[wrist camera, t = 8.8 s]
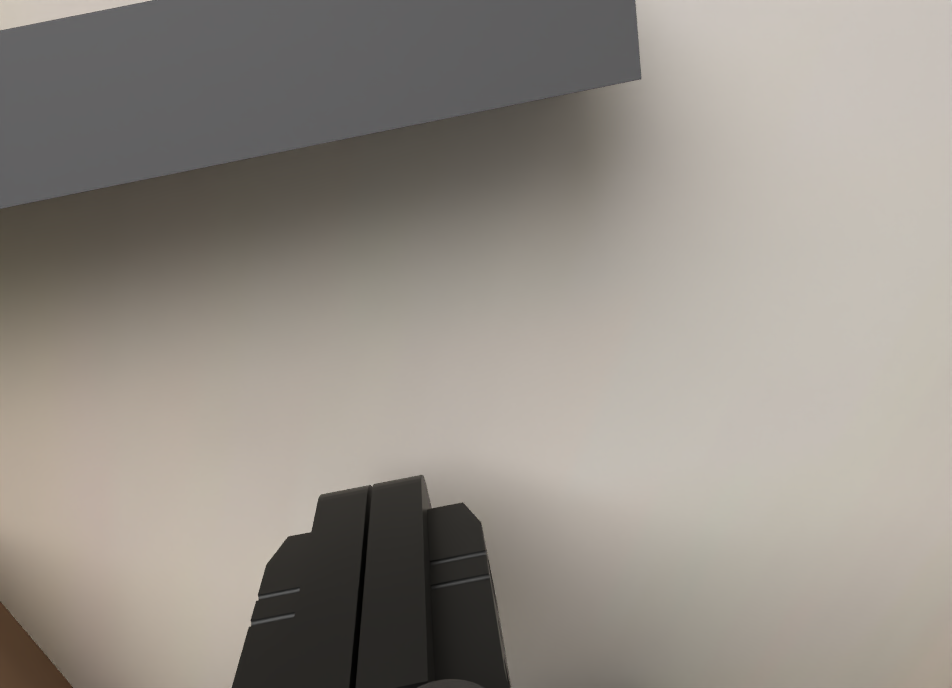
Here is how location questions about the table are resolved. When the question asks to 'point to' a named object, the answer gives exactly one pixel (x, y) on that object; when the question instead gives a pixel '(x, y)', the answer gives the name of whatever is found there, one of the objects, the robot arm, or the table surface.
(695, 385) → the table surface
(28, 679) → the walnut block
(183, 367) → the table surface
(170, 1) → the box
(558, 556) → the table surface
